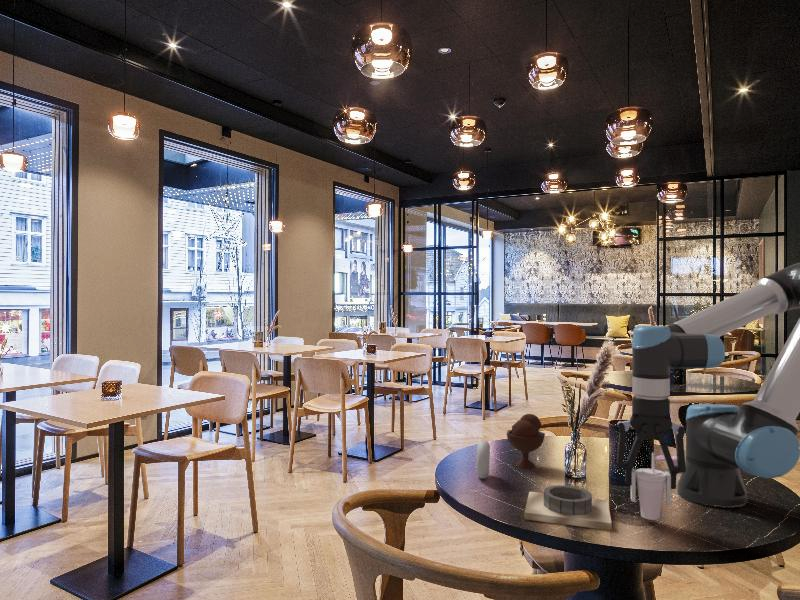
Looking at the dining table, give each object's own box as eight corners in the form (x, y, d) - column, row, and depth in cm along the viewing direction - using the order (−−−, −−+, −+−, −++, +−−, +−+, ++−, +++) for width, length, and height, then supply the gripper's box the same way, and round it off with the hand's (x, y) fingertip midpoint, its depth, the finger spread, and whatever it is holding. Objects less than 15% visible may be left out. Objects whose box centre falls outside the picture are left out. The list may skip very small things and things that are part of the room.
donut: (489, 484, 147) (489, 446, 147) (475, 483, 148) (476, 445, 148) (489, 472, 157) (490, 436, 157) (477, 471, 158) (477, 436, 158)
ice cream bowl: (515, 458, 171) (515, 408, 171) (550, 465, 165) (551, 413, 165) (499, 466, 163) (500, 414, 163) (536, 474, 156) (537, 420, 156)
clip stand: (607, 506, 133) (607, 487, 133) (611, 530, 120) (611, 509, 119) (529, 497, 138) (529, 479, 138) (524, 519, 125) (524, 498, 125)
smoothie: (669, 523, 120) (670, 457, 120) (637, 521, 121) (637, 456, 121) (662, 512, 126) (662, 449, 126) (631, 509, 128) (631, 448, 128)
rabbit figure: (704, 473, 164) (651, 461, 166) (708, 453, 164) (655, 441, 166) (713, 480, 158) (657, 467, 160) (717, 459, 158) (661, 447, 160)
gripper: (696, 395, 124) (695, 500, 125) (603, 391, 130) (602, 491, 130) (703, 401, 117) (703, 512, 117) (604, 397, 123) (604, 502, 123)
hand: (650, 501), depth 124 cm, fingers closed on smoothie, 6 cm apart
